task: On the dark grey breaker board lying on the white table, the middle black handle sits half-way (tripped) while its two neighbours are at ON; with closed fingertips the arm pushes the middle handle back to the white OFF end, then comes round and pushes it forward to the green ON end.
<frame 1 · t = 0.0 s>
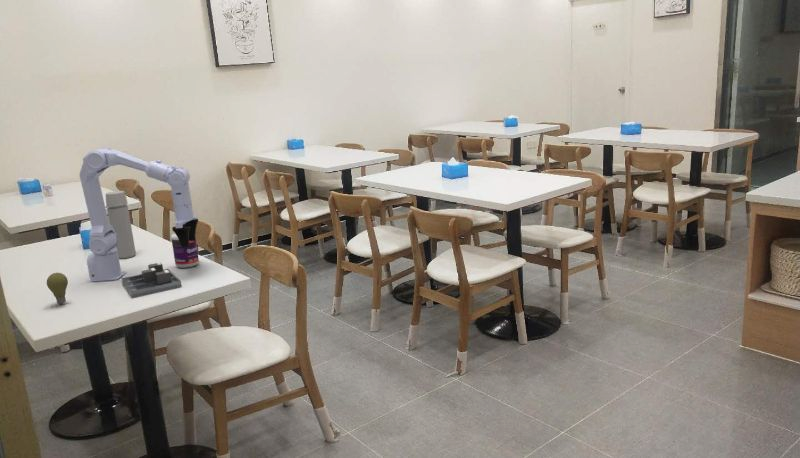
hand: (188, 243, 208), 10 cm above the table, fingers open, 7 cm apart
breaker far: (156, 270, 203), point 3 cm above the table, slide at 6.0 cm
water bottle: (124, 256, 234), on the table
panel: (151, 285, 198), on the table
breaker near: (163, 278, 194), point 3 cm above the table, slide at 6.0 cm
light bulb: (62, 304, 186), on the table
pill bottle: (187, 265, 218), on the table
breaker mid: (150, 276, 197), point 3 cm above the table, slide at 3.0 cm
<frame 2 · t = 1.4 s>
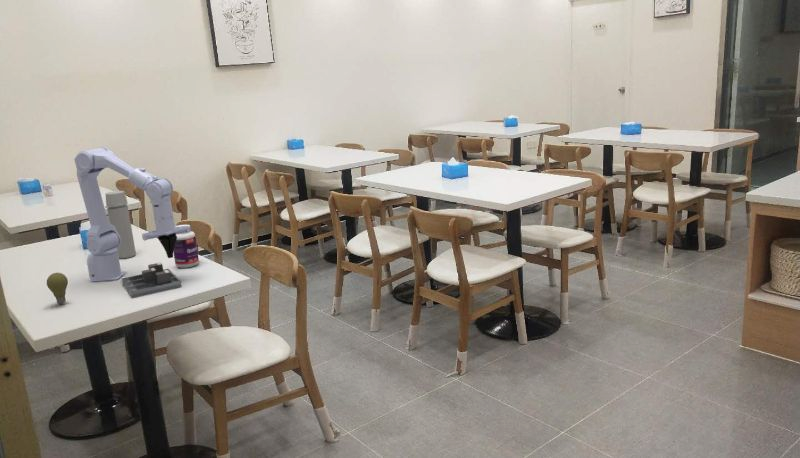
hand: (170, 257, 200), 8 cm above the table, fingers closed
nothing on the table moved.
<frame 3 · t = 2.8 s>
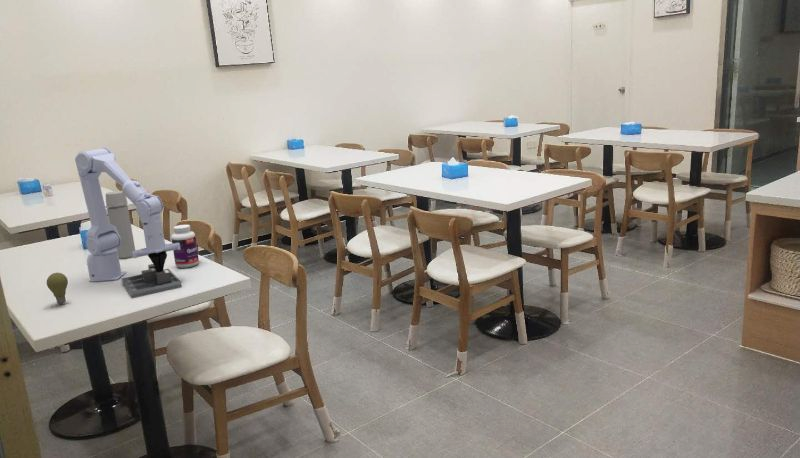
hand: (160, 274, 199), 3 cm above the table, fingers closed
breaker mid: (149, 276, 197), point 3 cm above the table, slide at 3.0 cm, touching gripper
everything else where it was.
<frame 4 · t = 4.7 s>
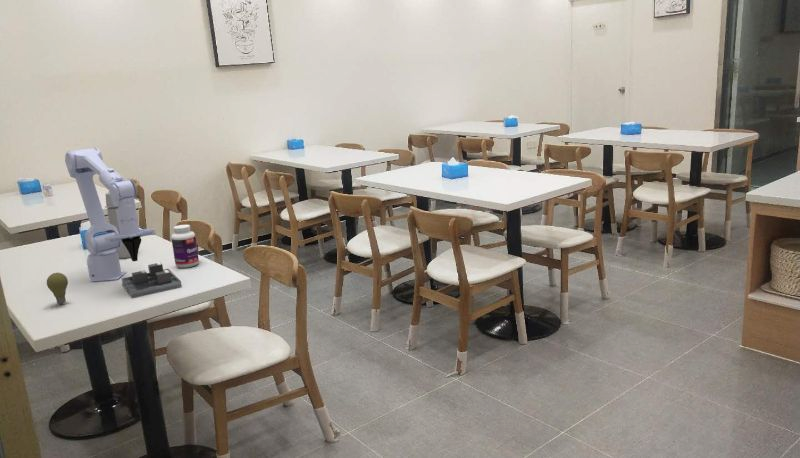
hand: (134, 260, 194), 9 cm above the table, fingers closed
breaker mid: (140, 278, 196), point 3 cm above the table, slide at -0.1 cm
everything else where it was.
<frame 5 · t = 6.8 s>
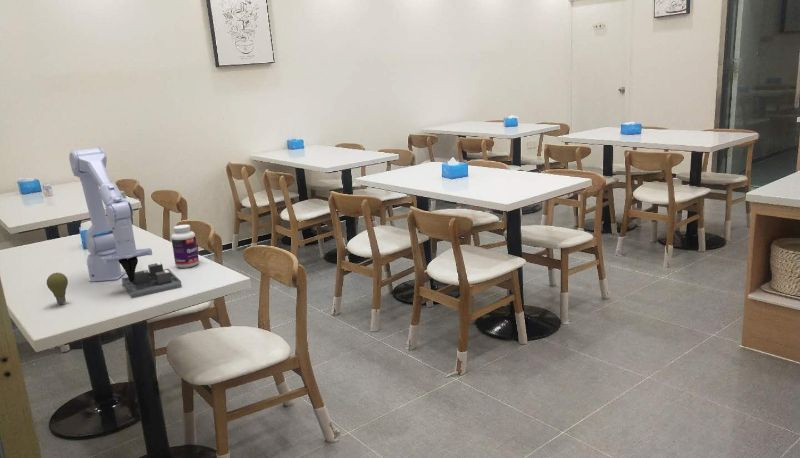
hand: (131, 280, 195), 3 cm above the table, fingers closed
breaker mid: (142, 277, 196), point 3 cm above the table, slide at 0.6 cm, touching gripper
everything else where it was.
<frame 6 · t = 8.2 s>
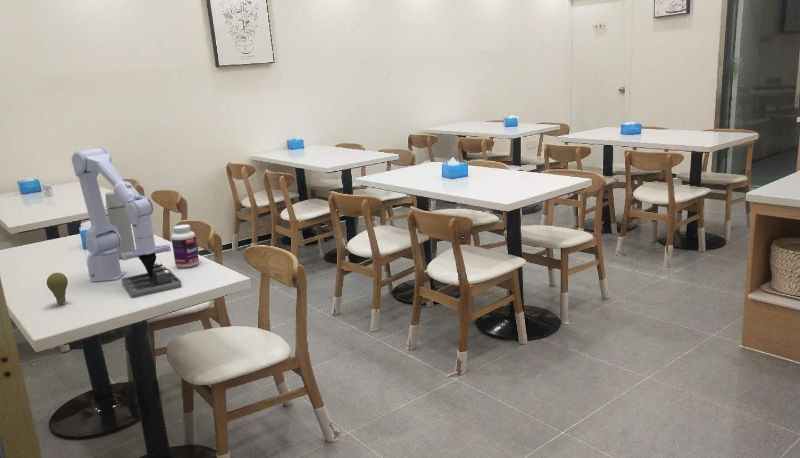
hand: (150, 276, 198), 3 cm above the table, fingers closed
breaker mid: (160, 274, 199), point 3 cm above the table, slide at 6.1 cm, touching gripper
everything else where it was.
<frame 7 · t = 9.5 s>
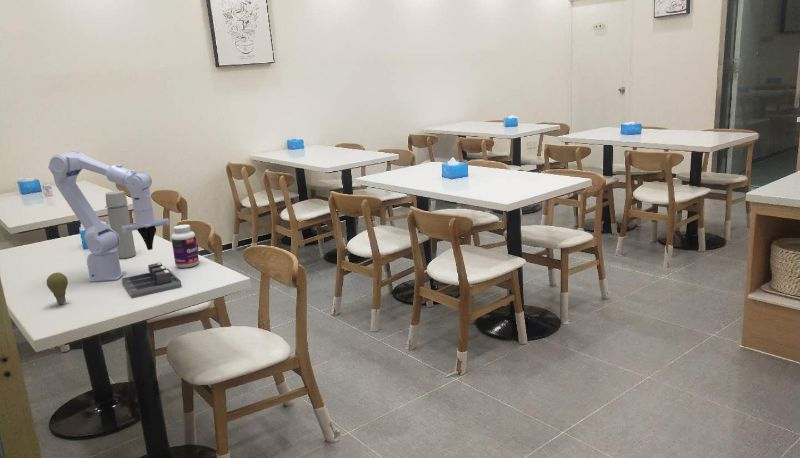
hand: (149, 249, 204), 10 cm above the table, fingers closed
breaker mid: (159, 274, 199), point 3 cm above the table, slide at 6.1 cm
everything else where it was.
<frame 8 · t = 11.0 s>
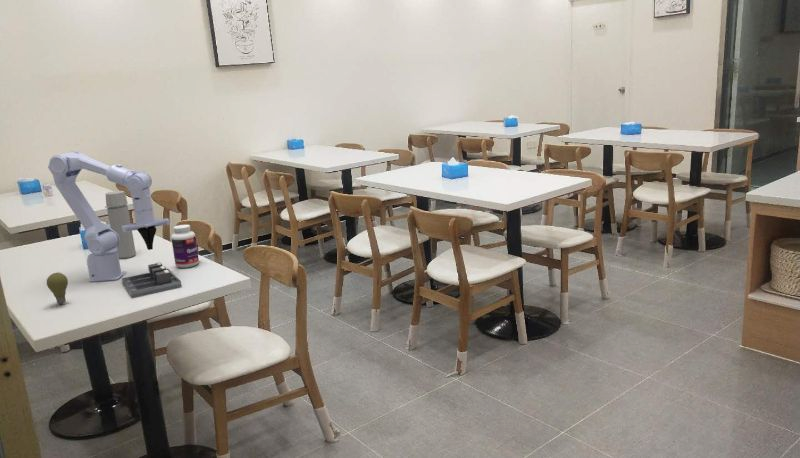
hand: (150, 249, 204), 10 cm above the table, fingers closed
nothing on the table moved.
at the end: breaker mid slide at 6.1 cm; breaker far slide at 6.0 cm; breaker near slide at 6.0 cm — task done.
